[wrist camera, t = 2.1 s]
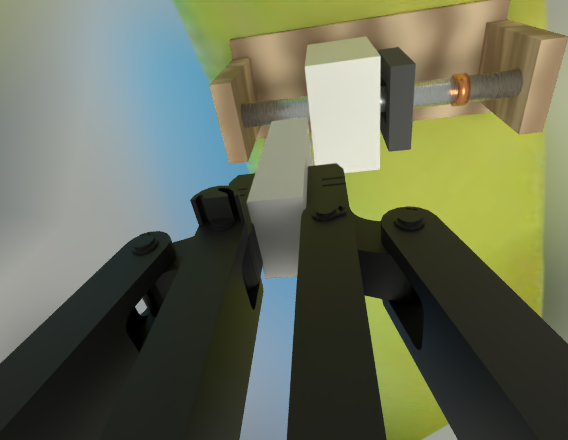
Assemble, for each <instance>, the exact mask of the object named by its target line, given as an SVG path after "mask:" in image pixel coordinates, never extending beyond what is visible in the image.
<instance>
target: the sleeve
mask: <svg viewBox="0 0 568 440" xmlns="http://www.w3.org/2000/svg"><path fill="white" fill-rule="evenodd" d="M380 60H381V56H380V55H379V53H378V52H377V50H376V49H375V48H374V46H373V45H372V43H371V42H370V41H369V39H368V38H367V36H364V37H358V38H351V39H344V40H337V41H330V42H324V43H317V44H310V45H307V52H306V60H305V75H306V84H307V93H308V103H309V112H310V122H311V131H312V140H313V150H314V159H315V166H316V165H324V164H333V163H337V164H338V165H339V166H340V167H342V168H343V169H344V173H349V172H360V171H371V170H380Z"/></svg>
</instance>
